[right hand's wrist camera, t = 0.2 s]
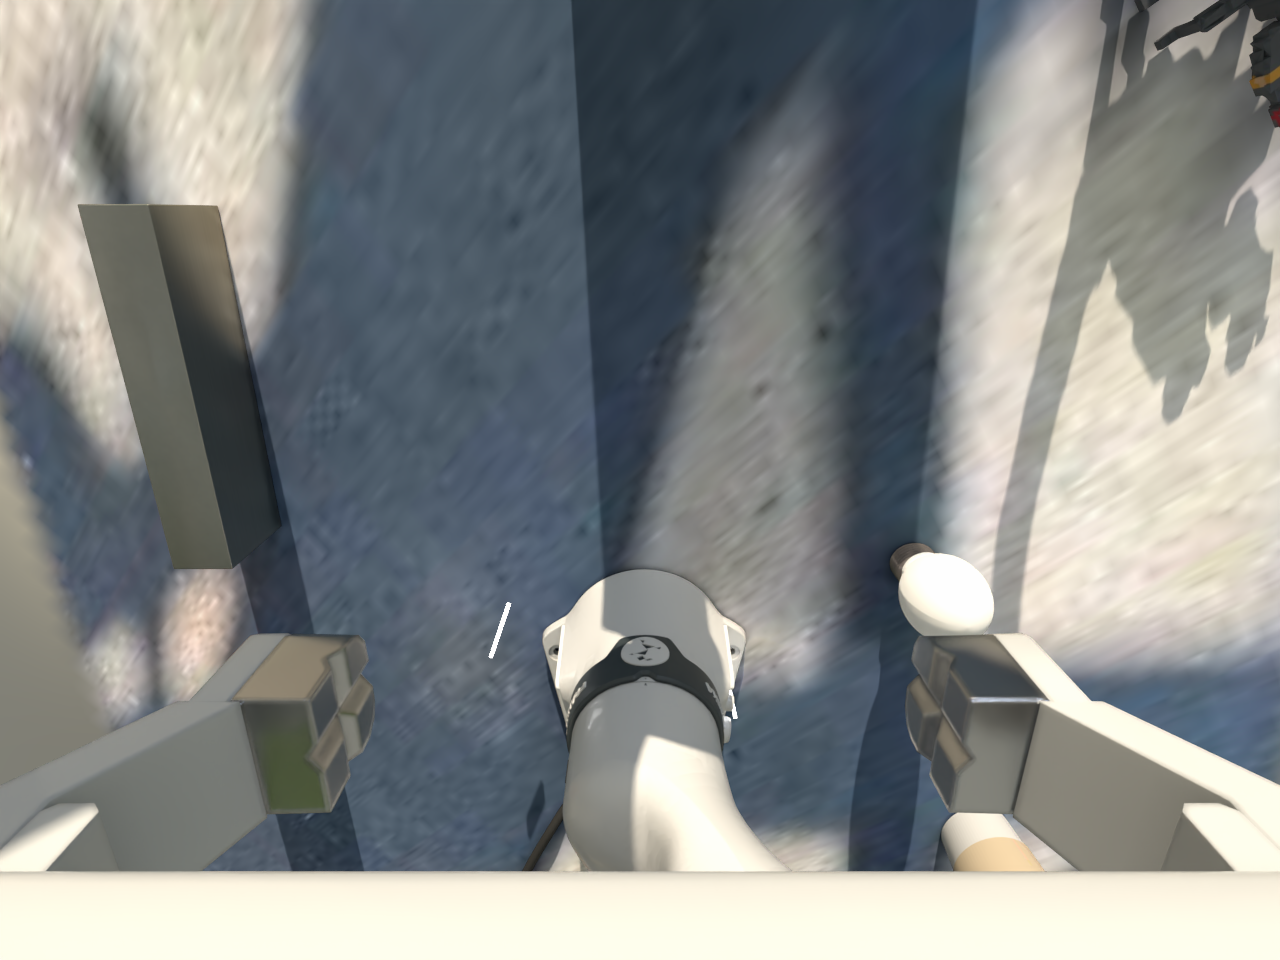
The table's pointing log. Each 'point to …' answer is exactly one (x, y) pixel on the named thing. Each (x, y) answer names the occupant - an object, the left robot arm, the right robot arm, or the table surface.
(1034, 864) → the coffee cup
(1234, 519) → the table surface
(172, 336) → the bar
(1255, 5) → the toy
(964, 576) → the light bulb
